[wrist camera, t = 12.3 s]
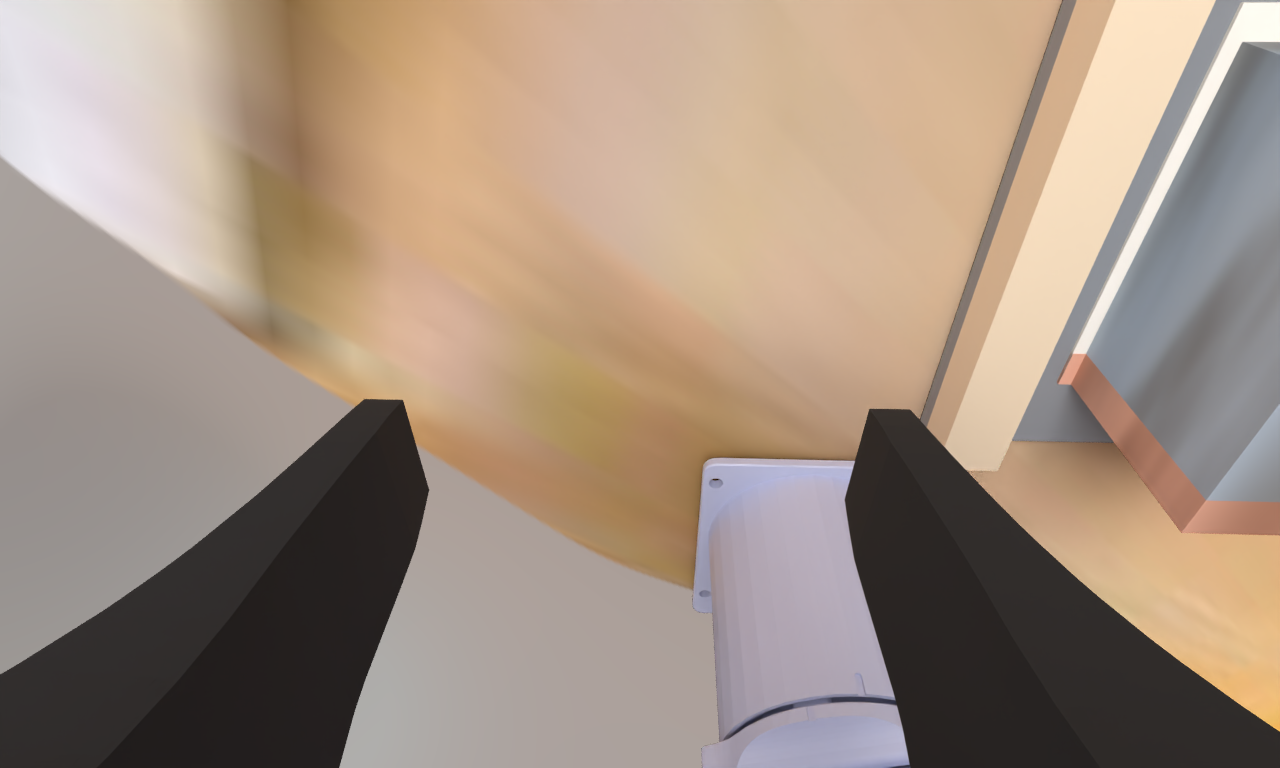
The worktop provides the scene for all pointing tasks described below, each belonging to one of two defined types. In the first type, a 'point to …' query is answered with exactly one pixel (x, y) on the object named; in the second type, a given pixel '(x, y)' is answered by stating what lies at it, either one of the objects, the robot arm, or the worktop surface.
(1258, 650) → the worktop surface
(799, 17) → the worktop surface
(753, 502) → the robot arm
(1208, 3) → the tray
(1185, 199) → the painted block
